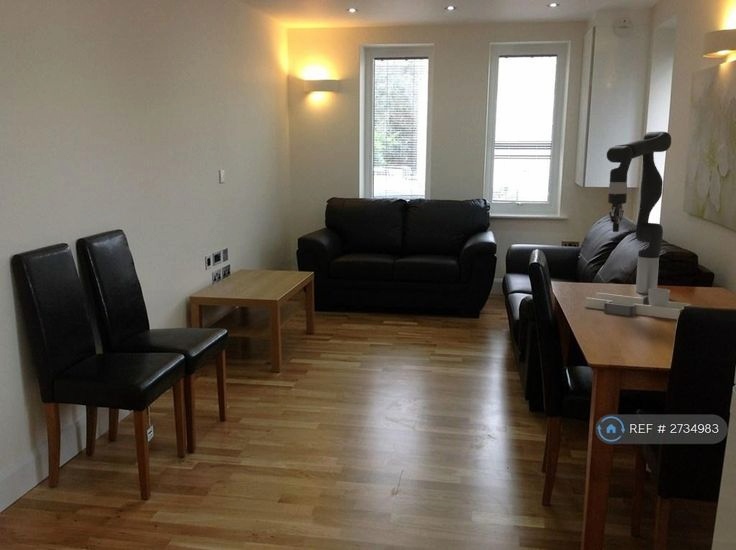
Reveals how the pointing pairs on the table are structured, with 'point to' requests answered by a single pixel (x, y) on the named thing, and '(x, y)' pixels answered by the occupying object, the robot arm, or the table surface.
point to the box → (633, 306)
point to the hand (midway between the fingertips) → (615, 231)
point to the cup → (658, 297)
